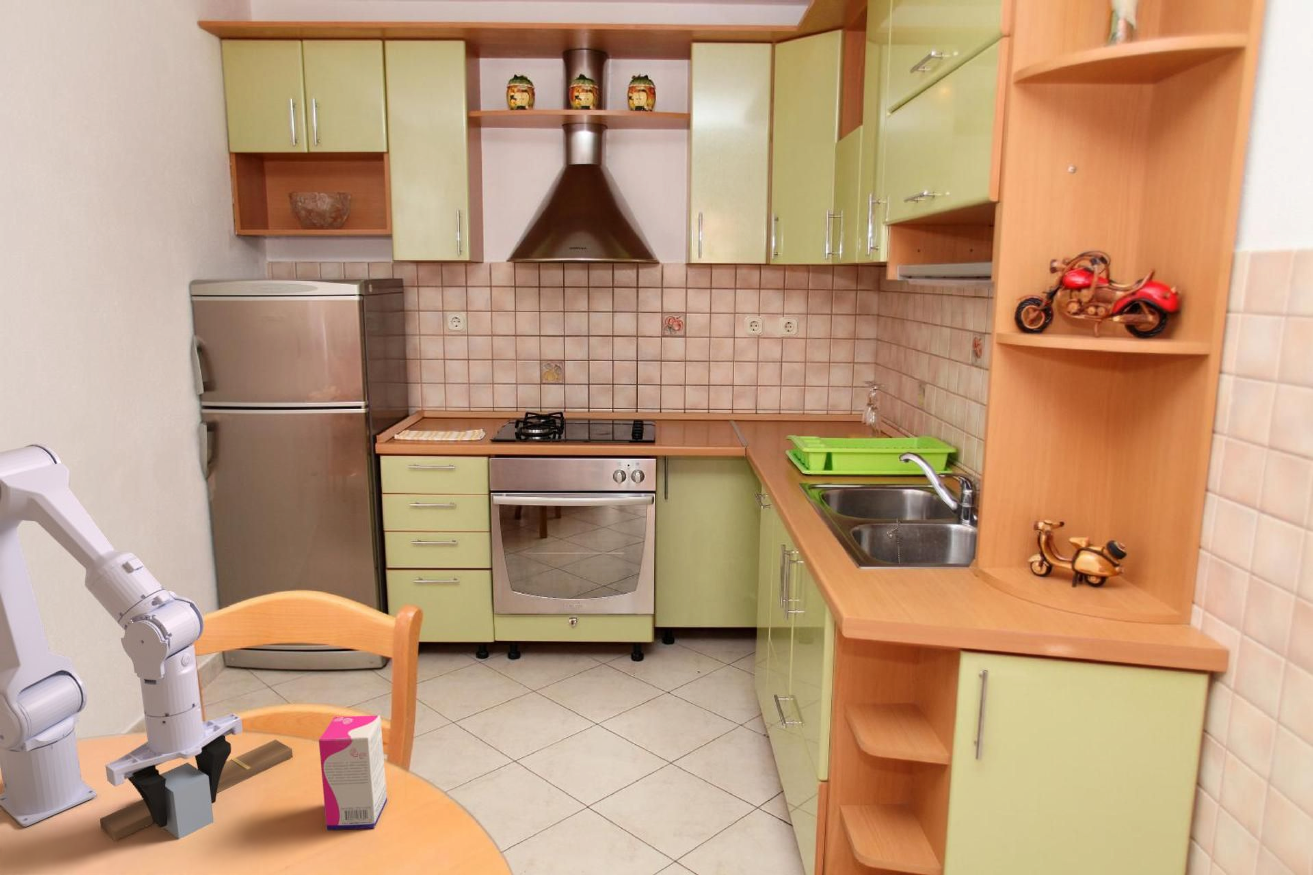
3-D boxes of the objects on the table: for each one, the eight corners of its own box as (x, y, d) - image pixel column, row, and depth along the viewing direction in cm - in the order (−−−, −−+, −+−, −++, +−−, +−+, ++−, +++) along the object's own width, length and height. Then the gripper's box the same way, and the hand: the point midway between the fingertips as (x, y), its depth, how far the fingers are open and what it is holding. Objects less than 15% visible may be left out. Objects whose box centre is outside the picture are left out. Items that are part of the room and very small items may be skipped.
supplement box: (388, 799, 110) (382, 713, 108) (375, 829, 104) (368, 739, 102) (340, 800, 110) (333, 714, 107) (324, 830, 104) (317, 740, 102)
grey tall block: (137, 806, 109) (131, 762, 108) (171, 791, 112) (165, 747, 111) (179, 839, 102) (173, 792, 101) (213, 822, 106) (208, 776, 104)
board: (100, 827, 105) (99, 817, 104) (276, 747, 122) (275, 738, 122) (116, 840, 102) (114, 830, 102) (292, 756, 119) (291, 748, 119)
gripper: (120, 742, 95) (135, 856, 97) (251, 690, 106) (261, 794, 109) (92, 722, 99) (107, 832, 101) (220, 674, 110) (231, 774, 113)
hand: (185, 811), depth 105 cm, fingers open, 5 cm apart
